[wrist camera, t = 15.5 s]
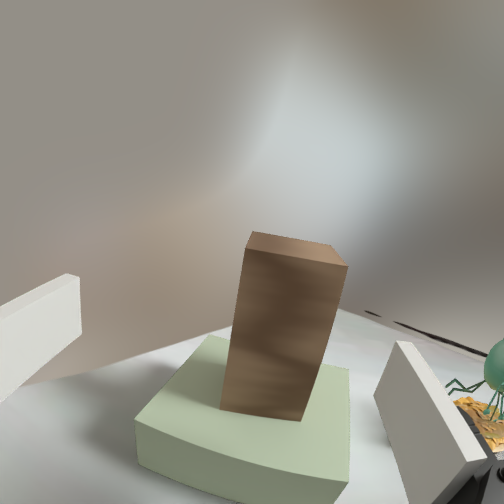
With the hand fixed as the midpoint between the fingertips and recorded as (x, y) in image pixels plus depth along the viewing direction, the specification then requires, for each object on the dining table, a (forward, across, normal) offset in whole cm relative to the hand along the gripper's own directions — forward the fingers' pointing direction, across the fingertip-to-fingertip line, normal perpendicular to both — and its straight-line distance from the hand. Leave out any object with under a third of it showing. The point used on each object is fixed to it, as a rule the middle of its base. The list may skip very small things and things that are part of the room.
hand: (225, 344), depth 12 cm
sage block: (+6, +2, -12) cm, 14 cm away
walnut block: (+7, +2, -7) cm, 10 cm away
